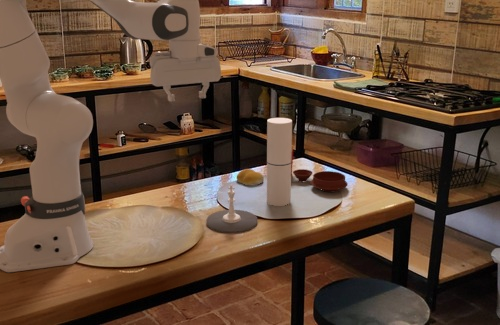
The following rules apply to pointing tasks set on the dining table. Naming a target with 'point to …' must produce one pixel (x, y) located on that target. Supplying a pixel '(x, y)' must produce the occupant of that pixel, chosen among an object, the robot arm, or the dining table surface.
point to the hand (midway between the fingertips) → (187, 99)
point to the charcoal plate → (219, 225)
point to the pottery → (323, 179)
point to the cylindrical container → (279, 161)
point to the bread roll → (249, 177)
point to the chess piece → (231, 209)
